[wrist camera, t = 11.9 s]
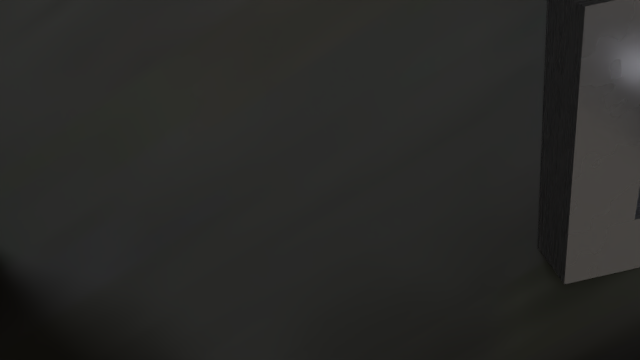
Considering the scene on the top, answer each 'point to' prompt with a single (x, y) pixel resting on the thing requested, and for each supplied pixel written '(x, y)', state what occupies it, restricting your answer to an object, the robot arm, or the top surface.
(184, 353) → the top surface
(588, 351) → the top surface
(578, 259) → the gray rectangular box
